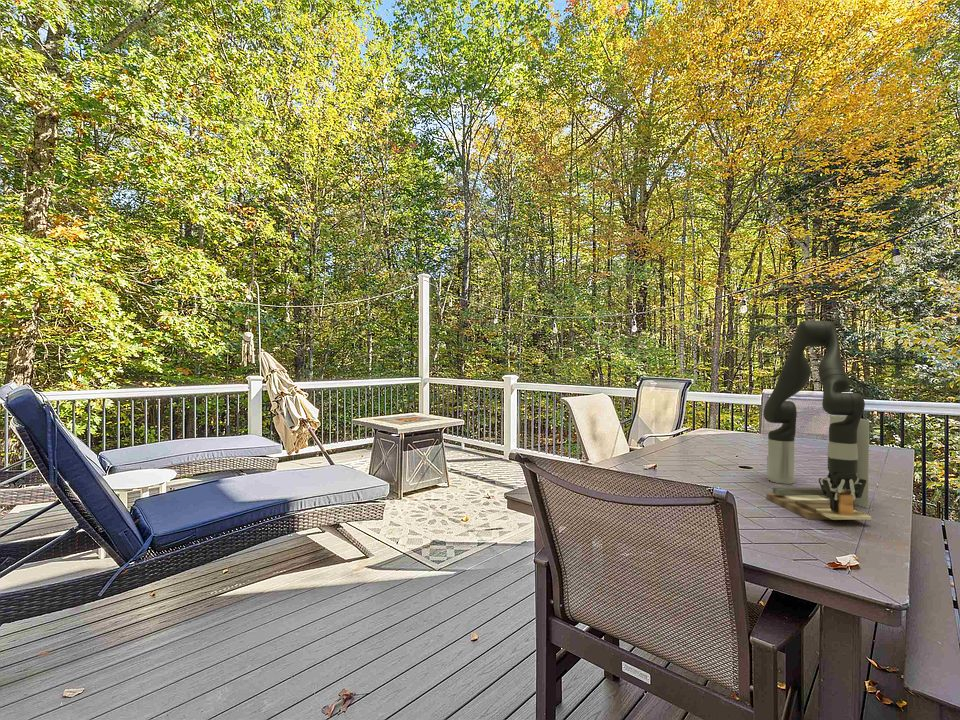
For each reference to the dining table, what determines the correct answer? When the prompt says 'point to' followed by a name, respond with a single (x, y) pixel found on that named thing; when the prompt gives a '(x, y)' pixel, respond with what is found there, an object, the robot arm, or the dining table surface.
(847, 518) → the wooden block on base
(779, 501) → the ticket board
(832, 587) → the dining table surface
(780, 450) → the robot arm
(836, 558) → the dining table surface
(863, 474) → the folded green panel
